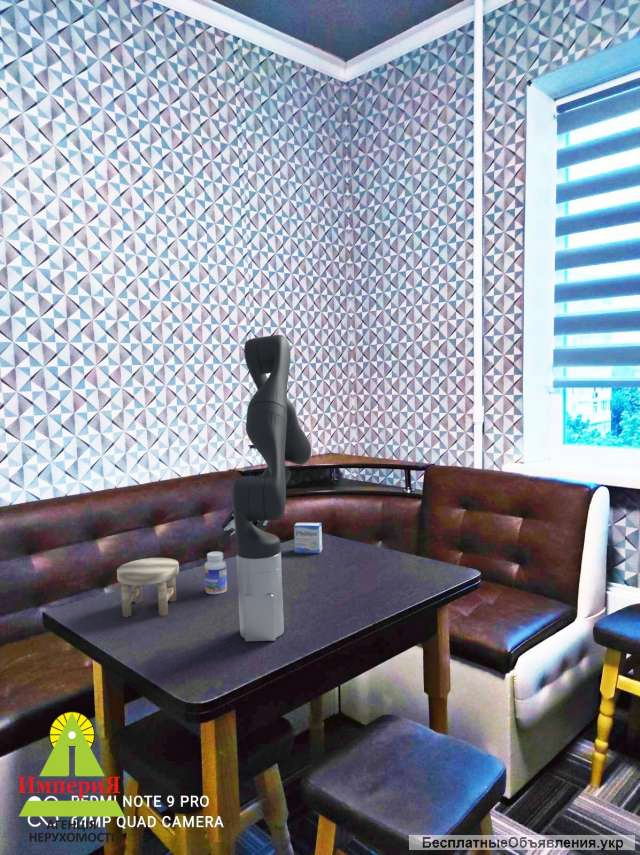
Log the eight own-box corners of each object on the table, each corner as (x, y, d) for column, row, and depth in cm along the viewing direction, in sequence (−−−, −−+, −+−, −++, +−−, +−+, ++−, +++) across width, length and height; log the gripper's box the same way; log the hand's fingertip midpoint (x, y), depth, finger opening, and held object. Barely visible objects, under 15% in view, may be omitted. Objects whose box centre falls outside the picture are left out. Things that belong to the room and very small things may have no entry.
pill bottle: (201, 593, 152) (199, 555, 151) (214, 586, 157) (212, 549, 156) (218, 596, 150) (216, 557, 149) (231, 588, 154) (229, 551, 154)
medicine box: (294, 553, 184) (293, 525, 183) (297, 549, 188) (296, 521, 187) (320, 553, 182) (319, 525, 182) (322, 549, 187) (321, 522, 186)
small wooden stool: (172, 618, 136) (170, 575, 136) (110, 620, 136) (108, 577, 135) (186, 596, 150) (184, 556, 149) (130, 597, 150) (127, 558, 149)
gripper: (238, 486, 166) (205, 536, 159) (271, 492, 156) (238, 545, 149) (254, 502, 170) (222, 551, 163) (287, 508, 160) (255, 561, 153)
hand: (230, 548), depth 156 cm, fingers open, 8 cm apart
